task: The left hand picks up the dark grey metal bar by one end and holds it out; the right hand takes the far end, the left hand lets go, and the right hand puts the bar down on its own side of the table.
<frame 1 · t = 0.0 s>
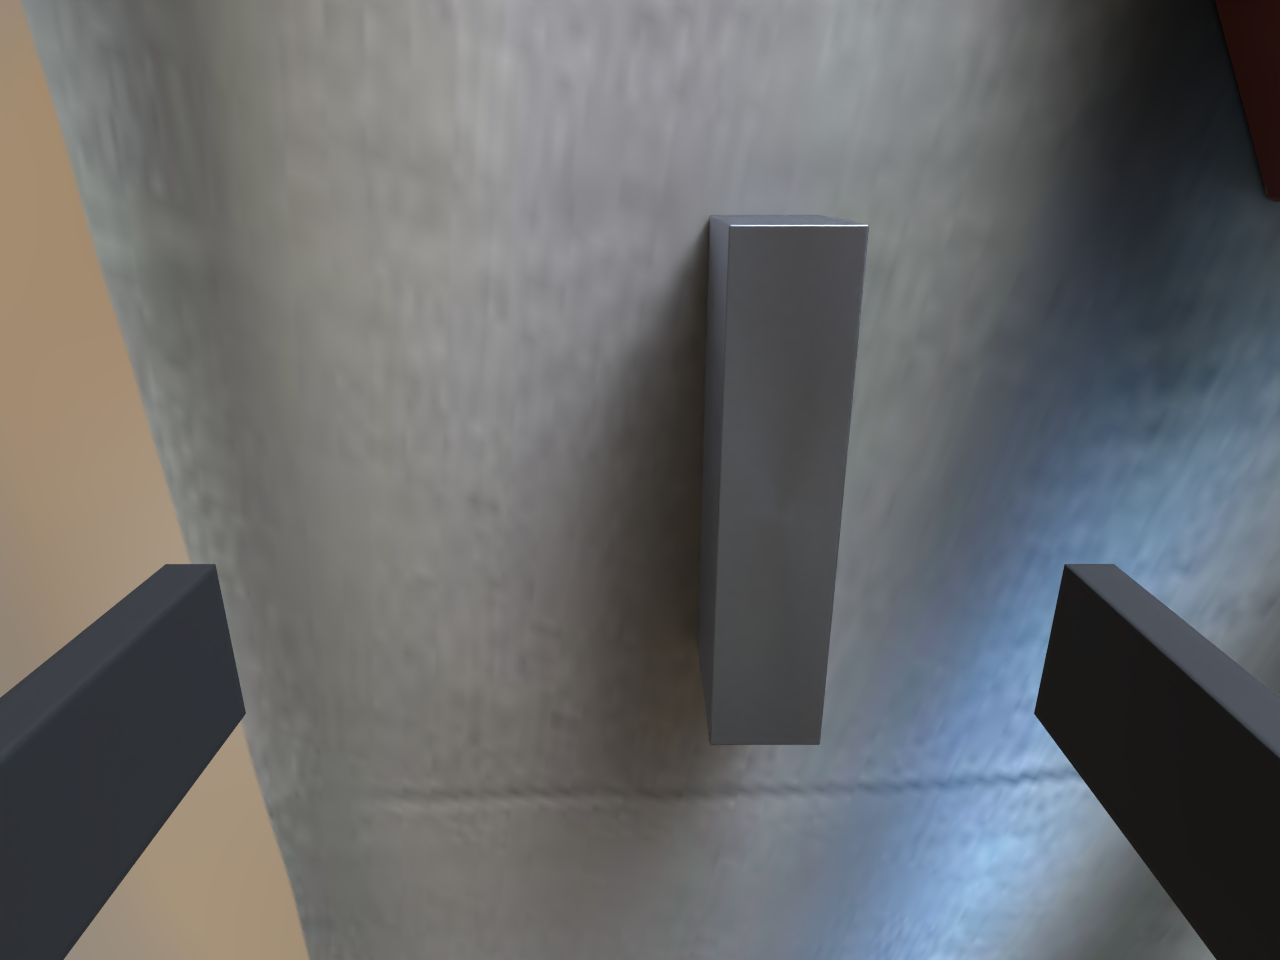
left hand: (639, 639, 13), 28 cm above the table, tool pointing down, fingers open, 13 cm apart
bar: (752, 451, 41), on the table
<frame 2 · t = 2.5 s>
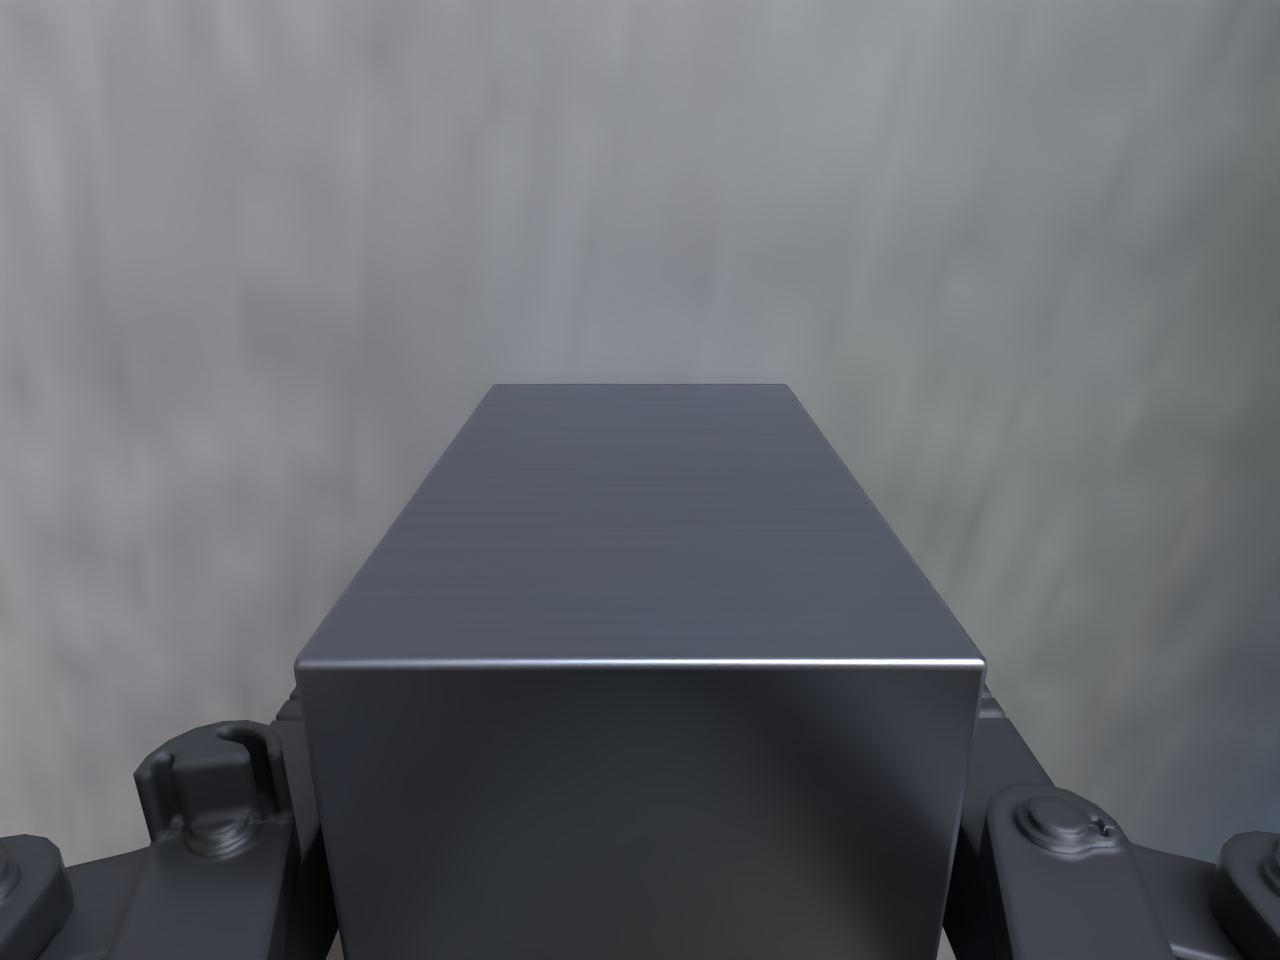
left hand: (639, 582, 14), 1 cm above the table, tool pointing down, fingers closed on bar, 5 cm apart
bar: (640, 889, 18), on the table, touching left hand
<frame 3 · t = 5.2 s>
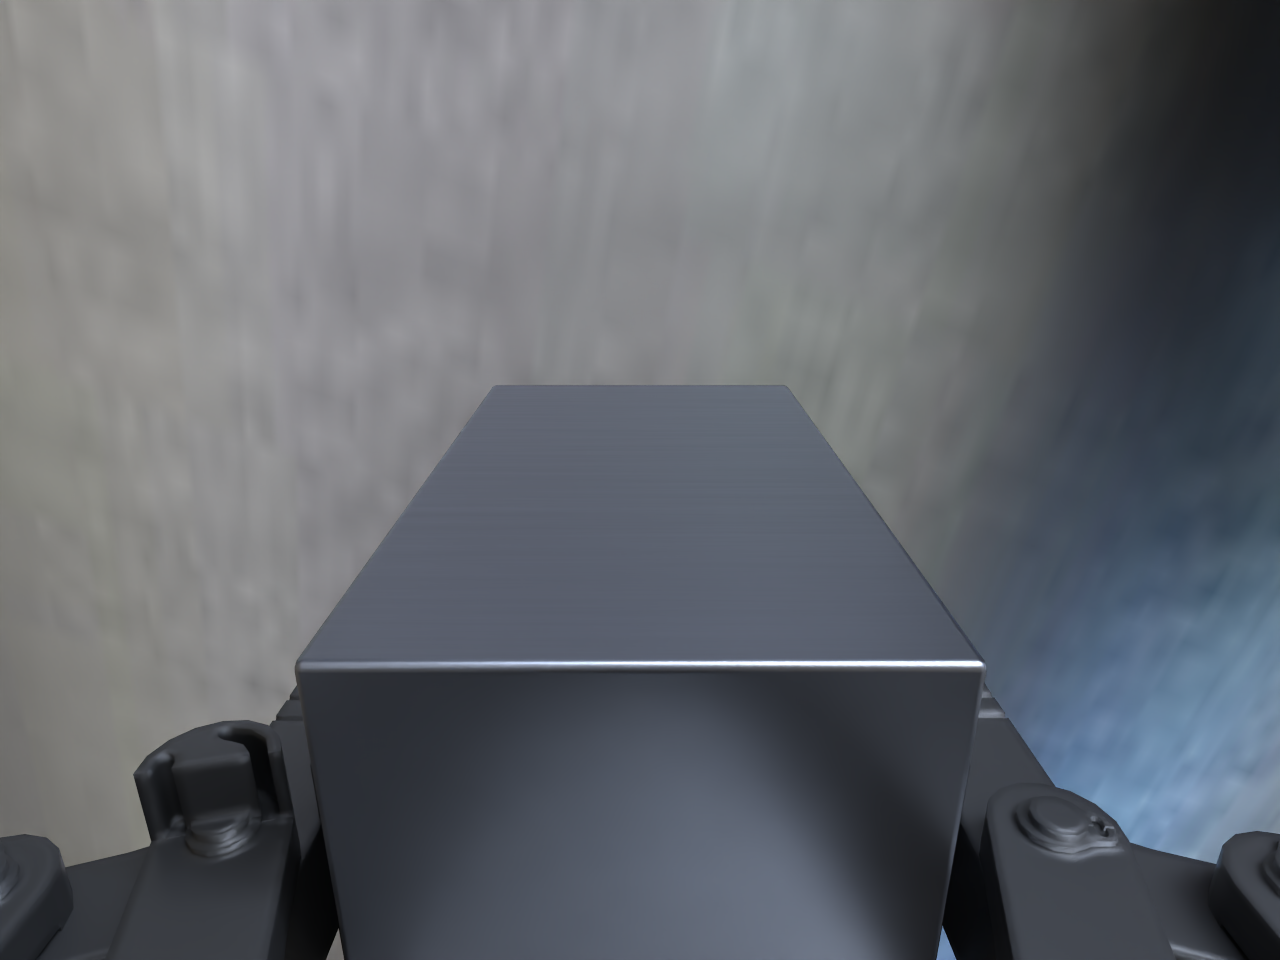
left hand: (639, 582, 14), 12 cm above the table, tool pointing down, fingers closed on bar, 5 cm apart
bar: (640, 890, 18), point 12 cm above the table, touching left hand
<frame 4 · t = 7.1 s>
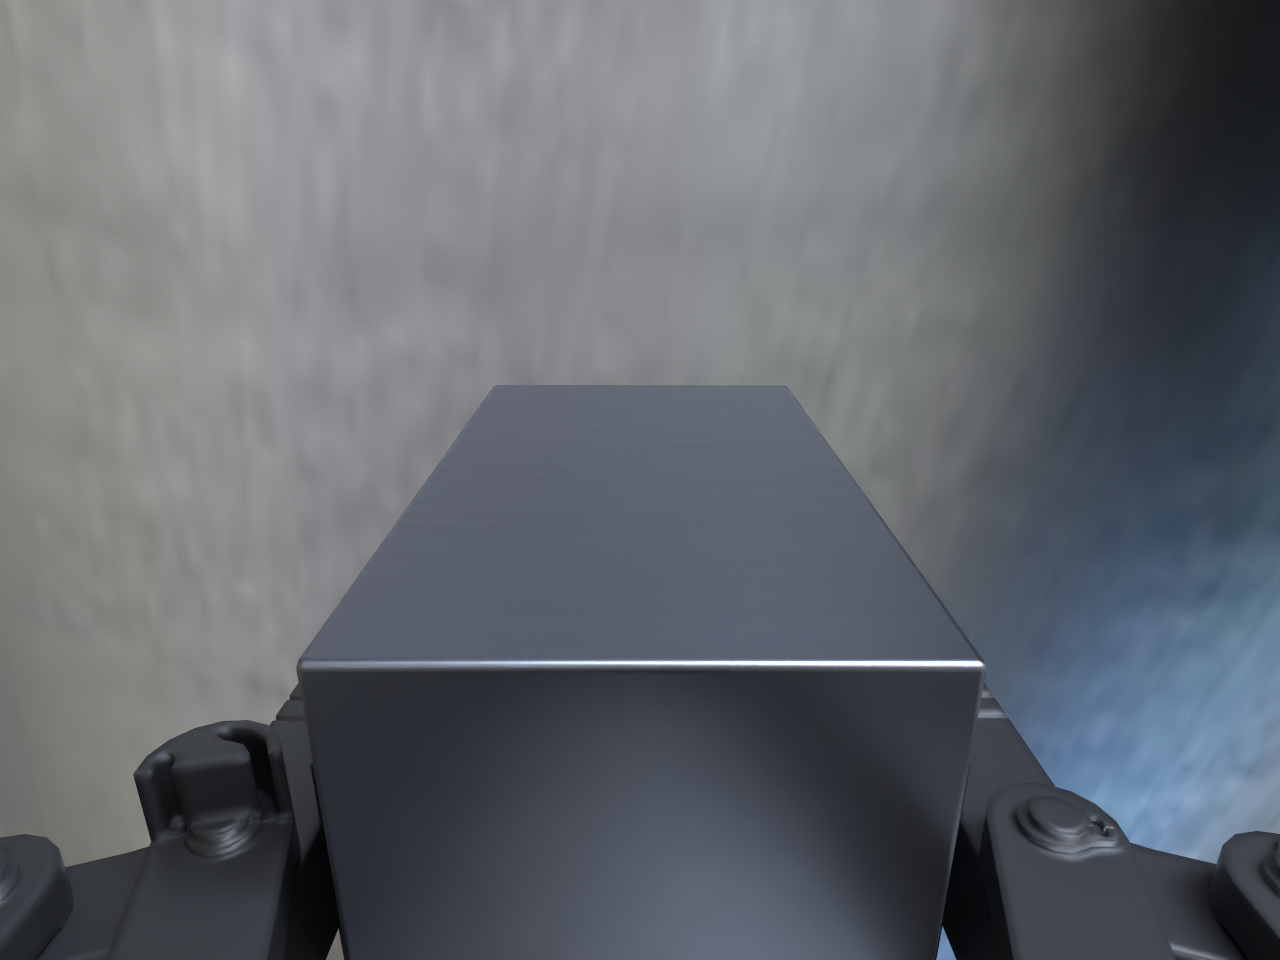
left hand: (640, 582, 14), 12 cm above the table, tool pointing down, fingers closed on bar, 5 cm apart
bar: (639, 889, 18), point 12 cm above the table, touching left hand, right hand
when the left hand's fingers open (12 cm above the table, at t = 7.9 s): bar stays where it is, held by the right hand.
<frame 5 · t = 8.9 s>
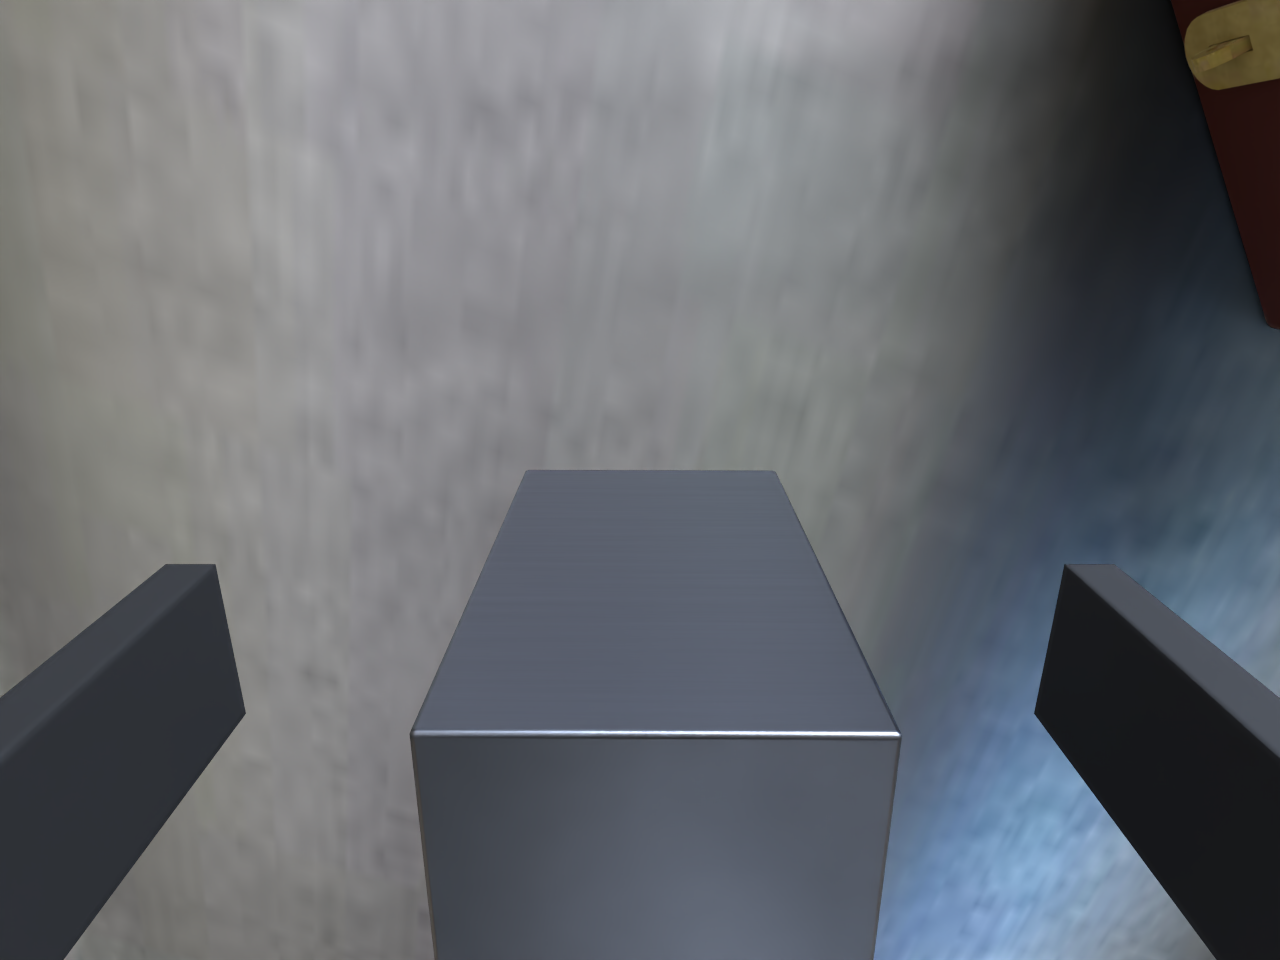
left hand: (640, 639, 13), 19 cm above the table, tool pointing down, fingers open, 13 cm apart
bar: (648, 905, 20), point 14 cm above the table, touching right hand
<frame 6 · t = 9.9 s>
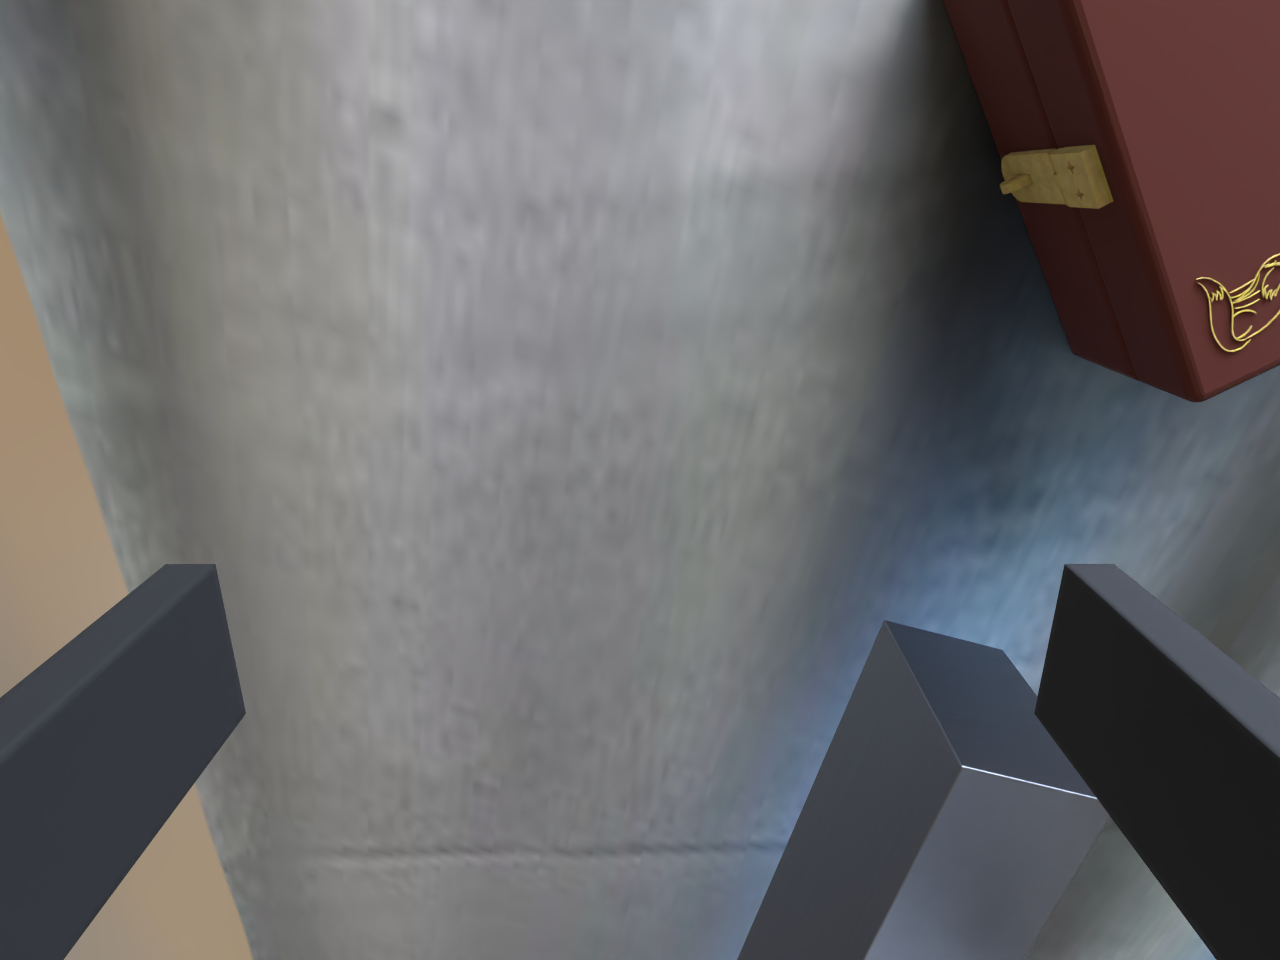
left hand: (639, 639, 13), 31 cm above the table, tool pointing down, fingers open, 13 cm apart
box: (1141, 100, 38), on the table
bar: (843, 849, 36), point 14 cm above the table, touching right hand
when the right hand's fingers open (4 cm above the table, at t = 12.9 s): bar stays where it is, on the table.
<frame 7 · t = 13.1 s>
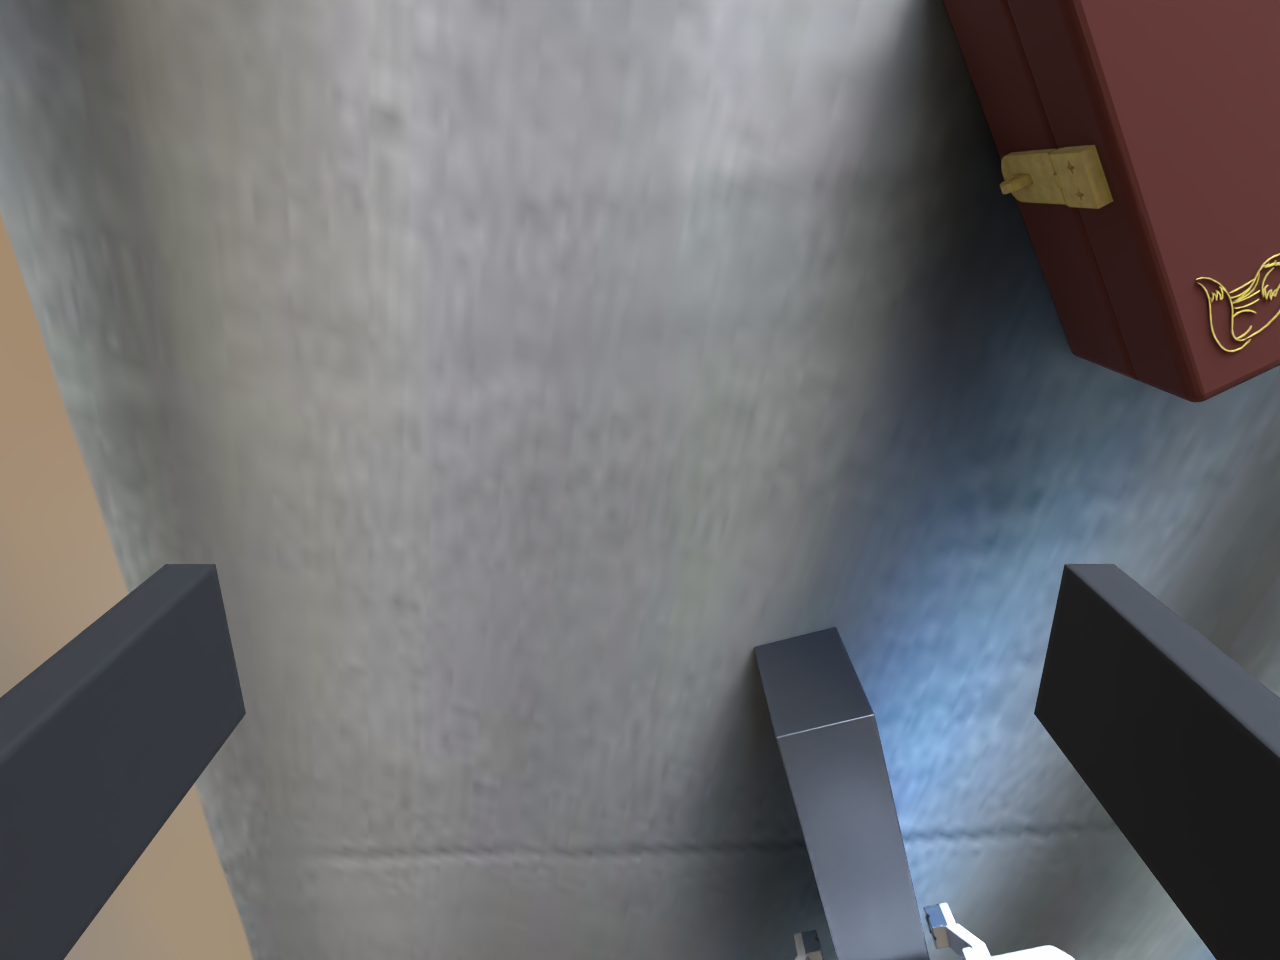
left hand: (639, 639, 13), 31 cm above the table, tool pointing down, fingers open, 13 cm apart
box: (1141, 100, 38), on the table
bar: (831, 783, 52), on the table
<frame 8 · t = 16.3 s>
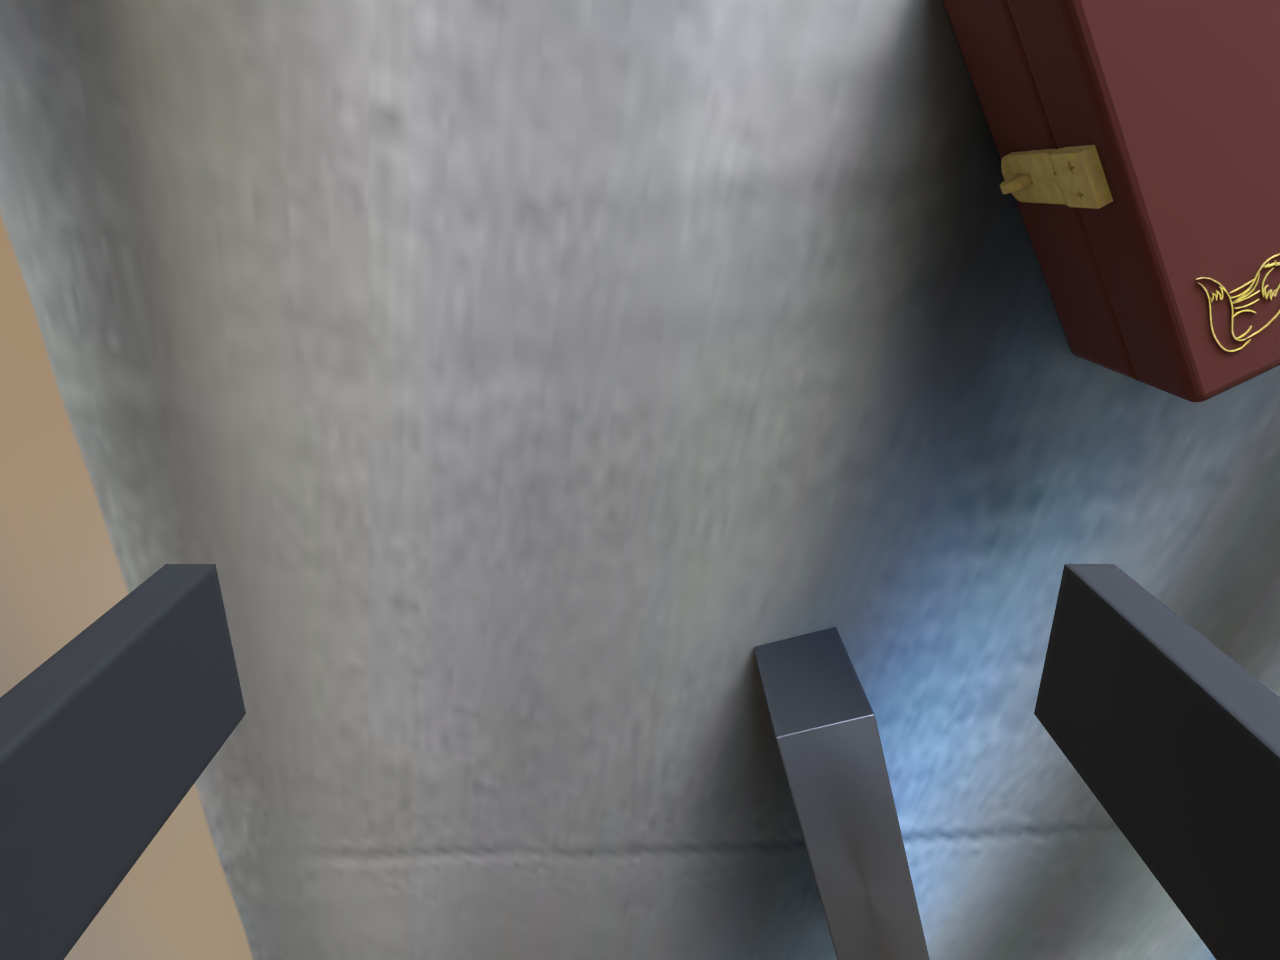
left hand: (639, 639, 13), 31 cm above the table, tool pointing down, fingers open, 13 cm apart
box: (1141, 100, 38), on the table
bar: (831, 783, 52), on the table
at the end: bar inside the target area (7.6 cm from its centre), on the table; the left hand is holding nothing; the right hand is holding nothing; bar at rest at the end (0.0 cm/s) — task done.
